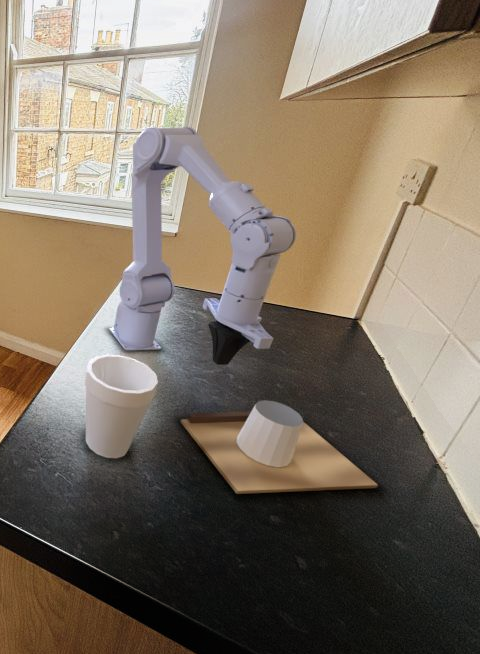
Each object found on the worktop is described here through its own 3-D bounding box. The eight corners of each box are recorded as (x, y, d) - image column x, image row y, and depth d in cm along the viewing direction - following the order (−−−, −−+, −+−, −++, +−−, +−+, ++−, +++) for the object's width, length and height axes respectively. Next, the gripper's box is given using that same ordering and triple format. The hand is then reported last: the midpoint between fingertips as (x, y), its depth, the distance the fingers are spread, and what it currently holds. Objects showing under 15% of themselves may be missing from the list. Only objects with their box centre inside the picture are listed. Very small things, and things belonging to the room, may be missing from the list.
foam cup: (151, 462, 58) (172, 390, 53) (91, 470, 57) (106, 396, 51) (119, 418, 67) (133, 352, 61) (66, 424, 65) (76, 356, 60)
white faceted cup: (300, 404, 59) (283, 441, 62) (245, 393, 61) (232, 428, 64) (316, 435, 53) (297, 474, 56) (255, 421, 56) (240, 459, 59)
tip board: (180, 422, 66) (182, 413, 66) (295, 418, 68) (299, 409, 67) (236, 494, 54) (240, 484, 53) (376, 488, 55) (382, 478, 54)
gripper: (303, 311, 59) (272, 387, 65) (238, 275, 72) (216, 341, 78) (257, 312, 59) (230, 388, 64) (200, 275, 72) (181, 341, 77)
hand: (220, 362), depth 71 cm, fingers closed
